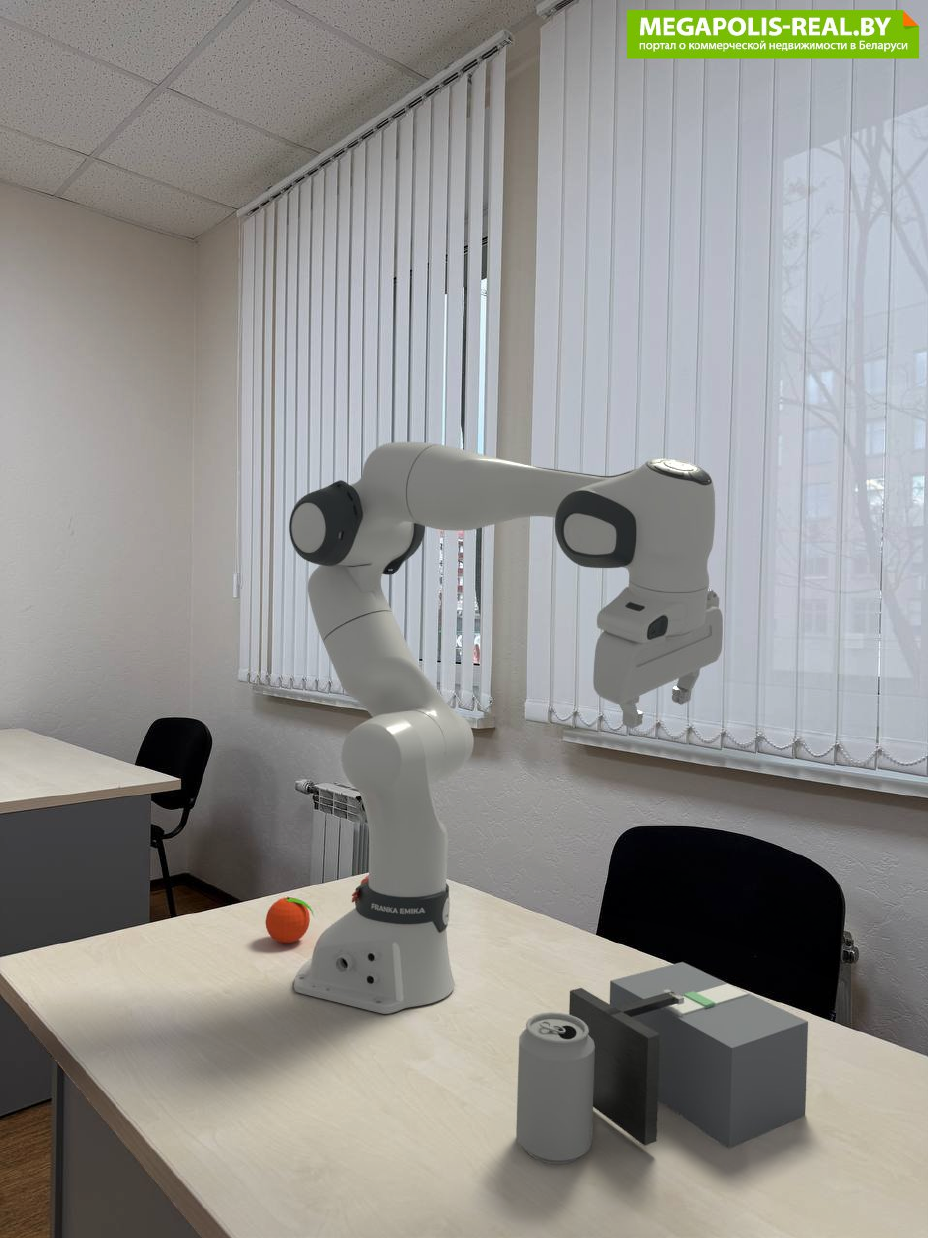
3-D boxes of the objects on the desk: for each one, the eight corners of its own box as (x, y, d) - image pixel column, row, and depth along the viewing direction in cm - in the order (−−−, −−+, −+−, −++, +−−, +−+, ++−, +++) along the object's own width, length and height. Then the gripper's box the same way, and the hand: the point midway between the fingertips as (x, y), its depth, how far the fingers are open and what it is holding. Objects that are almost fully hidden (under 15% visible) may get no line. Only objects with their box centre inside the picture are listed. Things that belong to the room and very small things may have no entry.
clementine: (322, 937, 137) (323, 893, 137) (304, 953, 130) (306, 907, 130) (276, 932, 139) (278, 888, 139) (256, 947, 132) (258, 901, 132)
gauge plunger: (644, 1146, 82) (648, 1038, 83) (566, 1087, 93) (569, 990, 93) (715, 1117, 88) (718, 1015, 88) (634, 1064, 98) (637, 973, 98)
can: (589, 1175, 80) (593, 1047, 80) (510, 1163, 81) (514, 1037, 81) (593, 1129, 87) (597, 1012, 87) (521, 1118, 88) (524, 1003, 89)
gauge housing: (729, 1148, 84) (732, 1044, 85) (607, 1065, 100) (610, 977, 100) (805, 1115, 91) (808, 1018, 91) (680, 1042, 106) (682, 958, 106)
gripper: (697, 579, 105) (686, 681, 110) (586, 617, 93) (580, 729, 98) (741, 592, 101) (729, 697, 106) (632, 633, 88) (623, 750, 93)
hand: (657, 713), depth 102 cm, fingers open, 8 cm apart
